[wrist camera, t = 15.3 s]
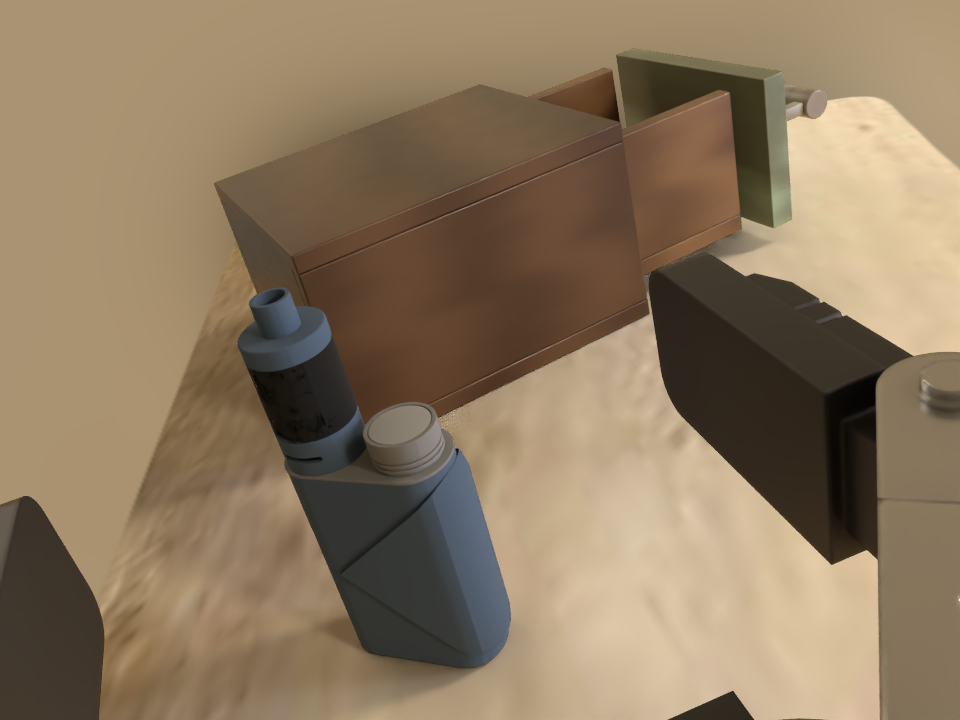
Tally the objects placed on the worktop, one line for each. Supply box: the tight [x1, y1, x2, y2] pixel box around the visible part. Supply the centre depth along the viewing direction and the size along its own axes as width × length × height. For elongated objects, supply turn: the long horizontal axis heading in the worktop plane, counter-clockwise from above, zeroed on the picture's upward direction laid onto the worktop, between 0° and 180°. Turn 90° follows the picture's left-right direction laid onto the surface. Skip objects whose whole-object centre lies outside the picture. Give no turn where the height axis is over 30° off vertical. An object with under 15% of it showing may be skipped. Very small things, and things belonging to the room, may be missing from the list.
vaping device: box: [238, 287, 511, 668], centre depth 26 cm, size 3×5×12 cm, turn 69°
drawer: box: [528, 48, 827, 275], centre depth 46 cm, size 18×11×7 cm, turn 118°
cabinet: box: [214, 85, 649, 424], centre depth 43 cm, size 15×13×9 cm
